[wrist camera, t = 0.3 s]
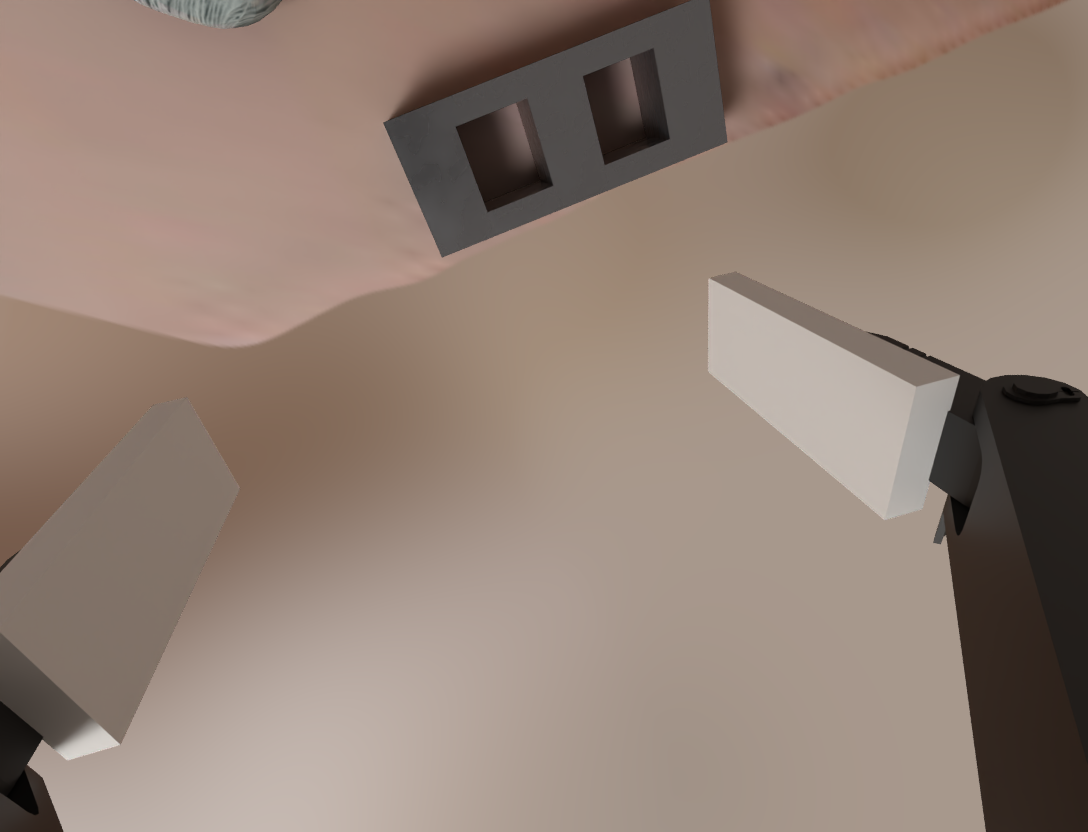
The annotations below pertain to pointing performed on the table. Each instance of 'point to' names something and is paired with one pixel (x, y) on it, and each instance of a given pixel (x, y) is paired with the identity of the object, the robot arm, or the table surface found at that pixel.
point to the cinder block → (567, 126)
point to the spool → (215, 11)
